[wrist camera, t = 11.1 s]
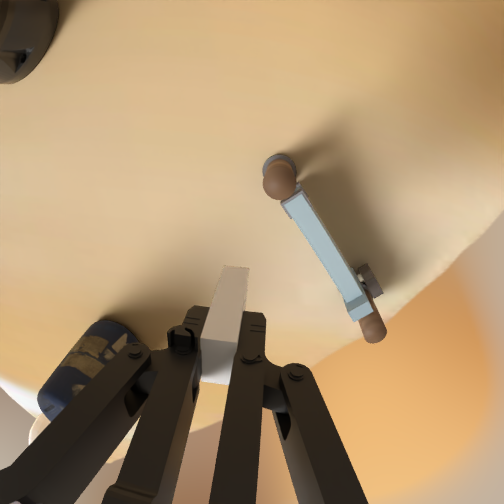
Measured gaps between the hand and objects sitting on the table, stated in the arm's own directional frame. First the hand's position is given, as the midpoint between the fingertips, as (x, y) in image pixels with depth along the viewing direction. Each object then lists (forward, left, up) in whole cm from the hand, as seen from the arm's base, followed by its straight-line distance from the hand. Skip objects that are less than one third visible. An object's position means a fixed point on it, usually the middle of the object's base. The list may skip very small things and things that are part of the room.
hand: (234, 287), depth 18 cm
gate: (+1, +8, -16) cm, 17 cm away
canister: (+23, -17, -16) cm, 33 cm away
